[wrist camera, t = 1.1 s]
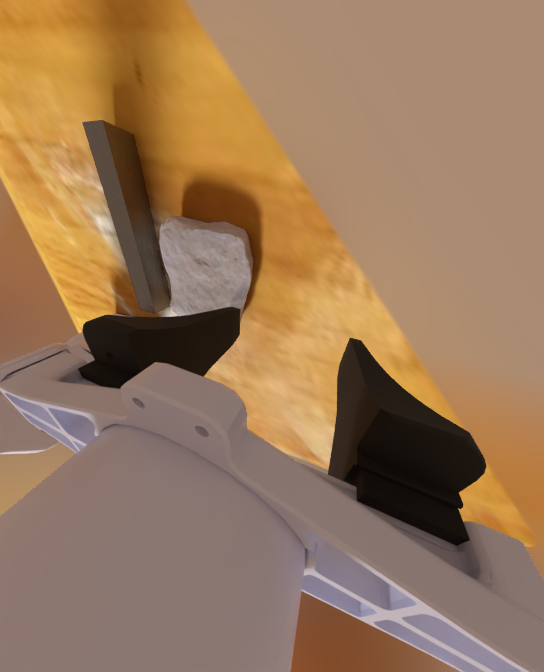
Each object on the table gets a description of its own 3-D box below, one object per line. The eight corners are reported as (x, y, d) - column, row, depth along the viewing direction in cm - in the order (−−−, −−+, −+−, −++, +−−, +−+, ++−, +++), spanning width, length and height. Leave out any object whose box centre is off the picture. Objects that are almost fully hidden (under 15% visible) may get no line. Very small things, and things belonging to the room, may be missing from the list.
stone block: (260, 225, 21) (172, 213, 22) (252, 227, 17) (144, 213, 18) (254, 319, 28) (186, 309, 28) (247, 337, 24) (168, 325, 24)
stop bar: (158, 303, 29) (140, 310, 26) (115, 136, 20) (82, 122, 17) (171, 305, 28) (155, 313, 26) (133, 134, 19) (102, 120, 17)
